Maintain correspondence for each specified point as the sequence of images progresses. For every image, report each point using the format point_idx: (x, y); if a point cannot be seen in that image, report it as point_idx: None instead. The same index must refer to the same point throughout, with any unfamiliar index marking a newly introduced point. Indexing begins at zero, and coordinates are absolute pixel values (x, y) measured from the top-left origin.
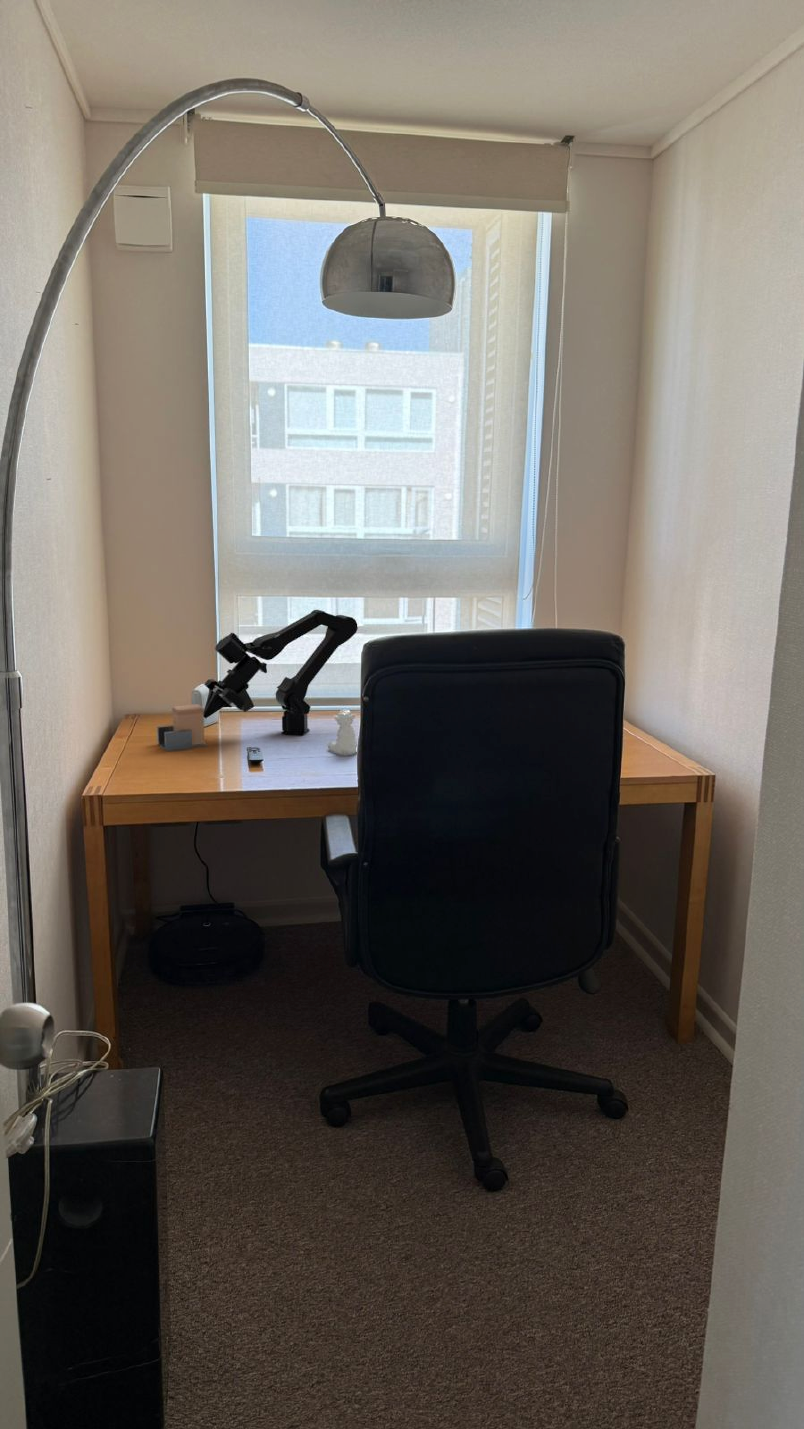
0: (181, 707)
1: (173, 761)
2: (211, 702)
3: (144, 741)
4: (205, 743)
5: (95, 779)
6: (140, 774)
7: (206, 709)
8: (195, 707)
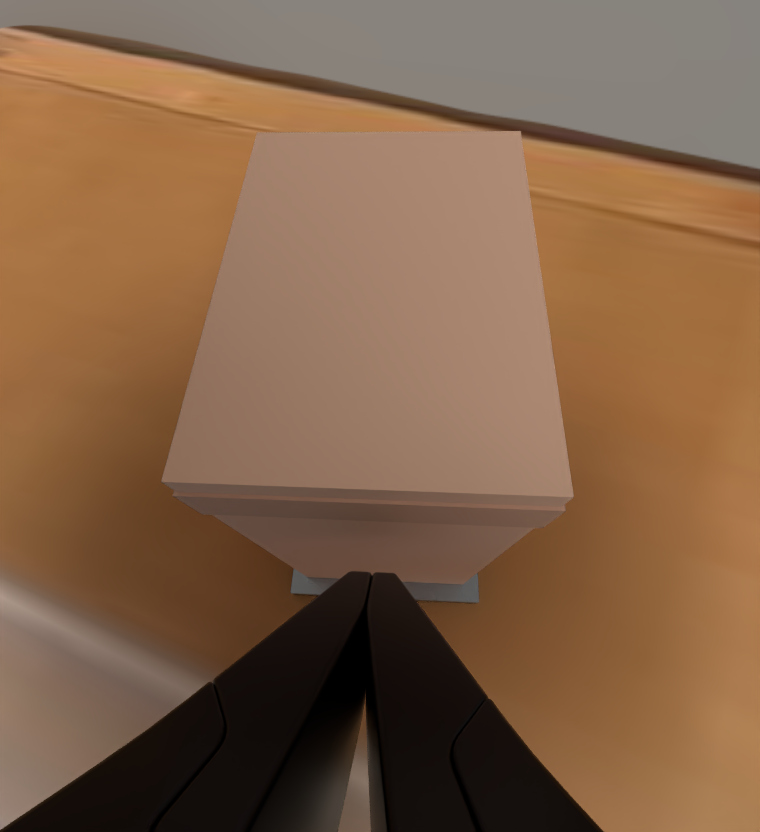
0: (398, 197)
1: (86, 295)
2: (119, 778)
3: (600, 280)
4: (308, 587)
5: (86, 55)
6: (14, 153)
7: (301, 619)
8: (273, 360)
